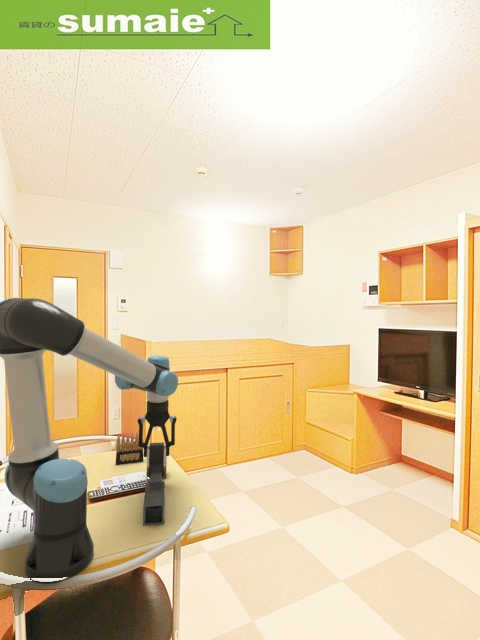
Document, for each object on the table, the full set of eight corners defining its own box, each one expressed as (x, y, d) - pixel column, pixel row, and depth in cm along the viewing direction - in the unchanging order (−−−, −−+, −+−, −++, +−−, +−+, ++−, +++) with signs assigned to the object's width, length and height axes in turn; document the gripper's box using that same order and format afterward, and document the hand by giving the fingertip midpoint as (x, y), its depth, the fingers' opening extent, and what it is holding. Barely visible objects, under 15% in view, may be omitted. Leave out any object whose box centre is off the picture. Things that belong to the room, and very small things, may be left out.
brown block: (166, 478, 136) (166, 461, 136) (146, 479, 135) (146, 462, 135) (166, 472, 141) (166, 455, 141) (147, 473, 140) (147, 456, 139)
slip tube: (162, 504, 116) (163, 461, 116) (146, 505, 115) (147, 462, 115) (163, 473, 137) (164, 437, 137) (149, 474, 136) (150, 438, 136)
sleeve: (164, 523, 108) (164, 503, 107) (143, 525, 106) (143, 505, 106) (164, 499, 121) (164, 481, 121) (145, 500, 120) (146, 482, 120)
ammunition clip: (142, 460, 152) (143, 431, 151) (143, 461, 150) (144, 432, 150) (115, 463, 148) (116, 433, 147) (115, 465, 146) (116, 435, 146)
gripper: (183, 396, 135) (181, 459, 136) (132, 397, 132) (130, 462, 132) (184, 402, 128) (182, 468, 128) (129, 403, 124) (128, 471, 125)
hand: (156, 465), depth 130 cm, fingers closed on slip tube, 5 cm apart
